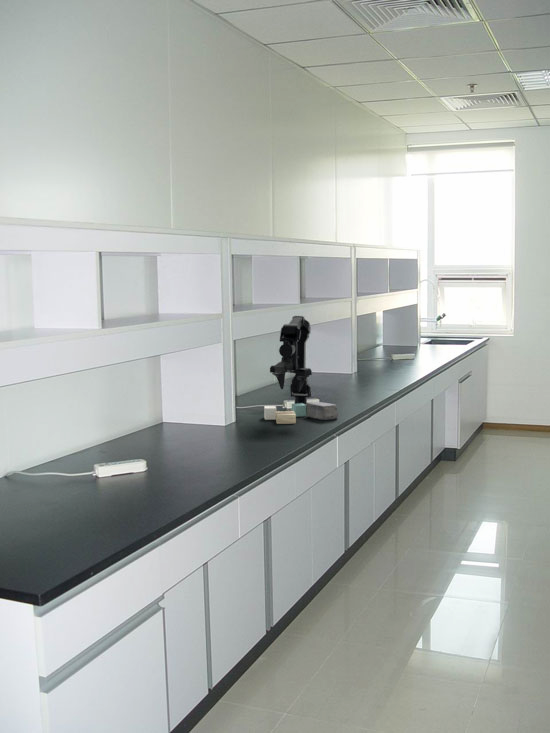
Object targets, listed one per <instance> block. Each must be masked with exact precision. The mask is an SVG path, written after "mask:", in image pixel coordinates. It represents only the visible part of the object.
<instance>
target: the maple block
mask: <svg viewBox="0 0 550 733" xmlns="http://www.w3.org/2000/svg"><path fill="white" fill-rule="evenodd" d="M296 420H297V417H296V414H295V412H294V411H292V410H286V411H282V410H278V411H277V410H276V420H275V422H276V424H277V425H278V424H284V425H285V424H289V425H290V424H296V423H297V422H296Z"/></svg>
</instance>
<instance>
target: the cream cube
mask: <svg viewBox="0 0 550 733" xmlns="http://www.w3.org/2000/svg"><path fill="white" fill-rule="evenodd" d="M263 407H264V409H263V413H264V415H263V416H264V417H263V418H264V420H265V421H266V420H267V421H268V420H275V421H276V411H277V406H276V405H267V406H266V405H265V406H263Z"/></svg>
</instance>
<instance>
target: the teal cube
mask: <svg viewBox="0 0 550 733" xmlns="http://www.w3.org/2000/svg"><path fill="white" fill-rule="evenodd" d="M291 411H294V412H295V414H296V418H298V417H306V416H307V410H306V405H305V404H303V403H297V404H294V403H291Z"/></svg>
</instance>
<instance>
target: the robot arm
mask: <svg viewBox="0 0 550 733" xmlns="http://www.w3.org/2000/svg"><path fill="white" fill-rule="evenodd" d="M311 331H312V329H311V324H310V321H308V320H306V319H305V316H302V315H294V316H292V318H291V320H290V322H289V323H284V324H283V325H282V327H281V329H280V333H279V334H280V336H279V343H281V342H282V344H281V346H280V347H279V348H278V352H279V355H280V356H281V361H279V362H278V363H276V364H274V365H271V366H270V367H269V373H270V374H271V373H272V375H273V376H275V377H276V379H277V382H278V385H279V387H280V390H284V387H285V379H286V373H290V374H291V373H292V374H295V375H294V377H292V379H291V383H290V387H289V388H290V397H291V398H292V397H294V402H293V404H297V403H303V404H305V405H306V403H307V402H308V398H311V397H312V390H311V387H310V384H309V379H308V377H310V376H312V374H313V372H312V369H311V367H310V368H309V367H306V343H307V341H308V339H309V338H310V334H311ZM306 411H307V408H306Z"/></svg>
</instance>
